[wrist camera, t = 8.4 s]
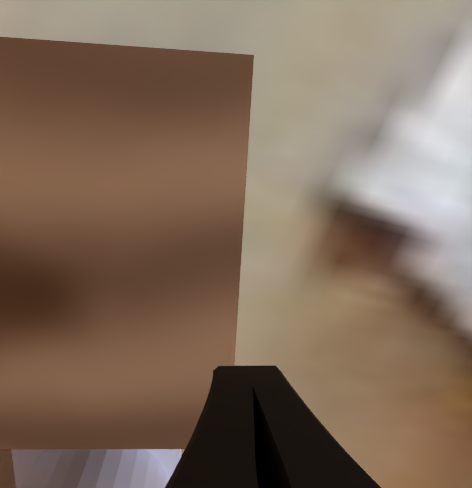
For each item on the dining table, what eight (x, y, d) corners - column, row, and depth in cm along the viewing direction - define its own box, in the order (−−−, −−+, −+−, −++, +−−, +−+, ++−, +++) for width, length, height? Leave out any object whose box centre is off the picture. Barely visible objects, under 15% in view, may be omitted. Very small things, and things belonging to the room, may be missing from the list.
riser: (225, 384, 20) (229, 448, 16) (31, 382, 19) (-14, 449, 15) (243, 71, 16) (253, 55, 12) (-2, 54, 15) (-76, 31, 11)
